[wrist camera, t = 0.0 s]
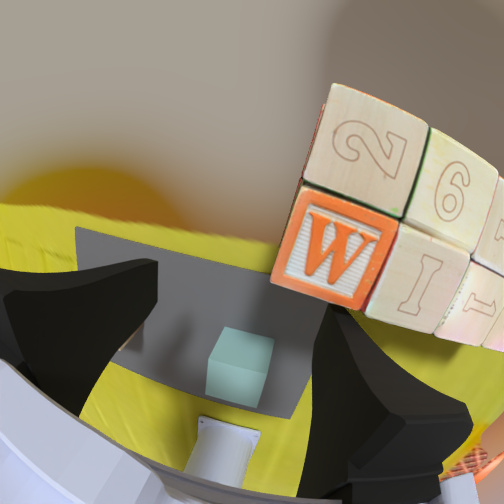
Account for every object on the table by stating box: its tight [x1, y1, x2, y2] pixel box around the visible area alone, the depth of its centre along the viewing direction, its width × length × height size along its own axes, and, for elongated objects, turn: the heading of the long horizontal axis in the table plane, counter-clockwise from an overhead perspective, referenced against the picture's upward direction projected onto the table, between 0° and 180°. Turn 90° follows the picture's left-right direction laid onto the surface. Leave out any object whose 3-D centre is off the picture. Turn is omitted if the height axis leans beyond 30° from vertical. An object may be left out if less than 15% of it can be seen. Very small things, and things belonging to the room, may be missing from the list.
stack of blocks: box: [270, 83, 504, 352], centre depth 12 cm, size 21×6×12 cm, turn 74°
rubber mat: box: [75, 226, 337, 419], centre depth 25 cm, size 17×26×1 cm, turn 80°
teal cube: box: [205, 327, 275, 408], centre depth 22 cm, size 4×4×4 cm
